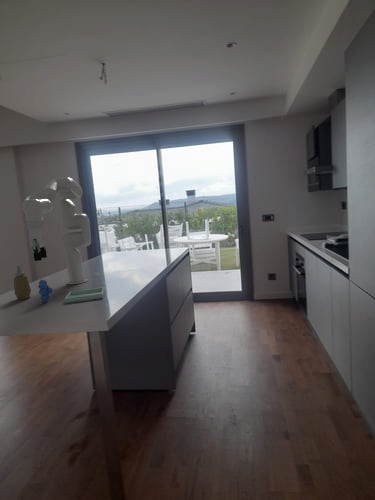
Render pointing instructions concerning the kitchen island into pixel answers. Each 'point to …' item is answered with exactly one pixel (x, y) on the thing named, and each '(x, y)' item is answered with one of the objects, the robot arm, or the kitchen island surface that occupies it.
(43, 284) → the grapes
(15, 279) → the squeeze bottle
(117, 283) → the kitchen island surface
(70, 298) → the tray
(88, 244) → the robot arm
